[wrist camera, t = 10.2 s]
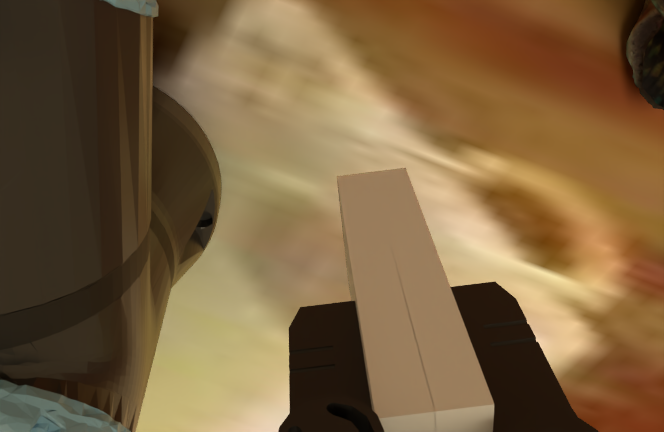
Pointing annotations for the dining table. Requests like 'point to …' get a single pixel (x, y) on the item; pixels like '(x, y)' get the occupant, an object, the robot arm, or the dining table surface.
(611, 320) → the dining table surface
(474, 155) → the dining table surface
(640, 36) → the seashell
